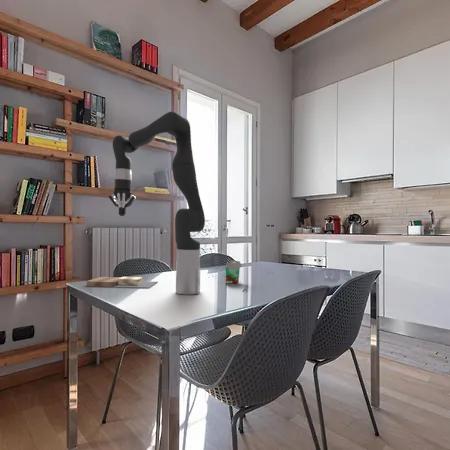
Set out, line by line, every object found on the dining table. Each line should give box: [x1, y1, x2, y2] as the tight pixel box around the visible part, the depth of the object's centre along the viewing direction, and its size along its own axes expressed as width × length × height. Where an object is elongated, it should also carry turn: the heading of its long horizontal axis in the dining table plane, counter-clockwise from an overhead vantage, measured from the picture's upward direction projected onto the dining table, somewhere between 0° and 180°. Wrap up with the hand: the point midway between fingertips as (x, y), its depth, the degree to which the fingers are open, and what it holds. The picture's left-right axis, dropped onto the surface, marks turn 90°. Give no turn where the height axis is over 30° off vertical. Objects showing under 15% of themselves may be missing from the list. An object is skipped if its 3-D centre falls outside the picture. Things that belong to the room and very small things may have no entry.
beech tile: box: [118, 276, 144, 285], centre depth 144 cm, size 9×6×2 cm, turn 87°
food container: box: [225, 260, 242, 285], centre depth 153 cm, size 12×6×10 cm, turn 168°
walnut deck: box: [86, 276, 121, 288], centre depth 144 cm, size 12×12×2 cm
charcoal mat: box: [114, 280, 159, 289], centre depth 144 cm, size 14×14×1 cm
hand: (122, 215), depth 155 cm, fingers closed
